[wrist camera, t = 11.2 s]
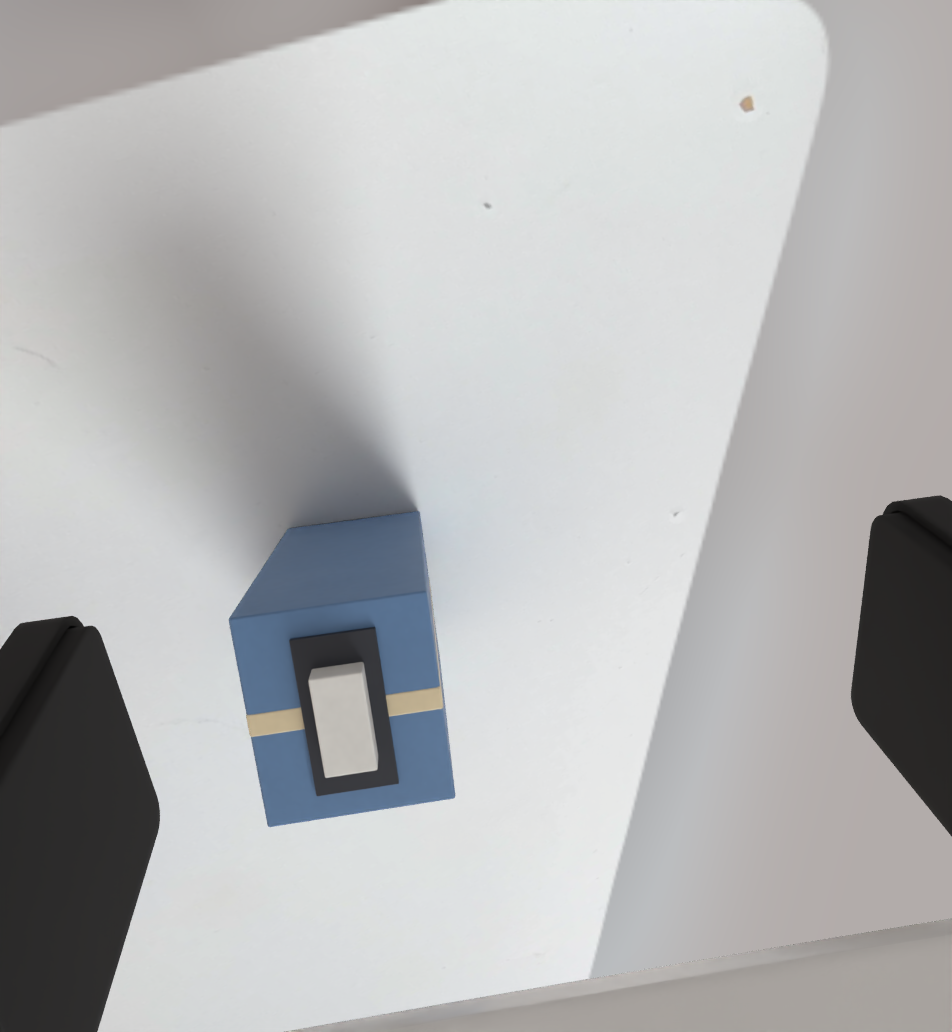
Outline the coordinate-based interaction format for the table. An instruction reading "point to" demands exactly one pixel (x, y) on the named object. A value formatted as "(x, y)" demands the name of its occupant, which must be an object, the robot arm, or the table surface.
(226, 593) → the table surface
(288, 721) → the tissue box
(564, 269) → the table surface
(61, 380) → the table surface
